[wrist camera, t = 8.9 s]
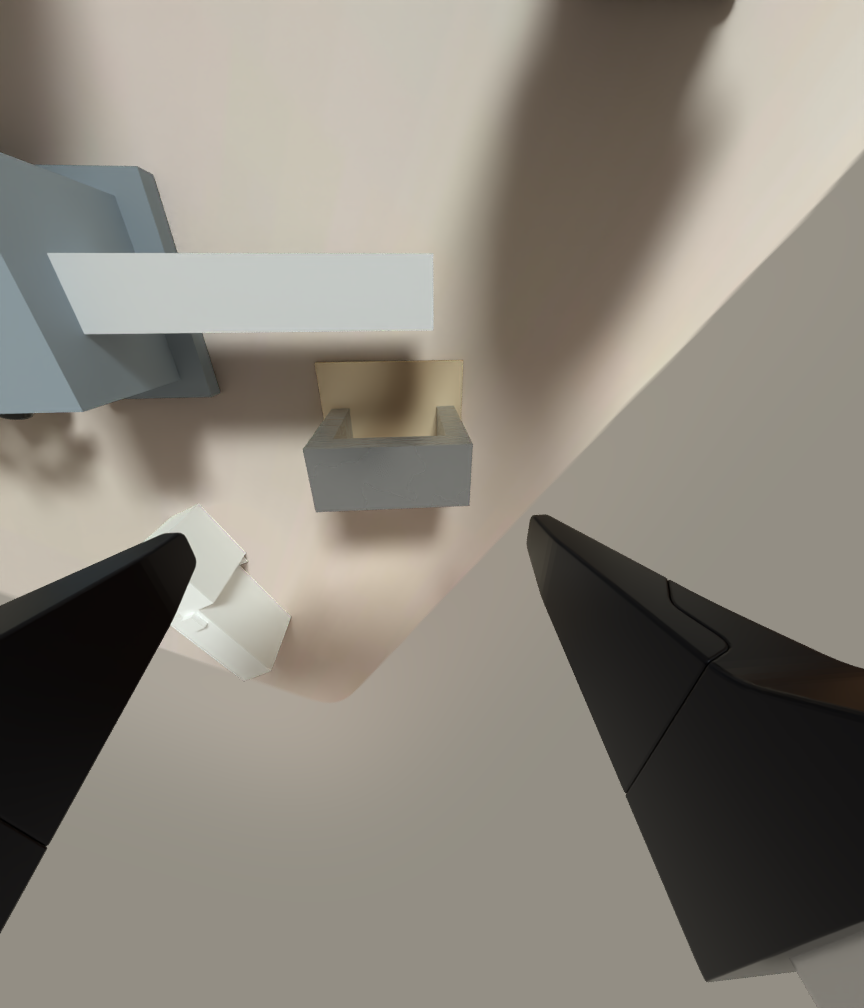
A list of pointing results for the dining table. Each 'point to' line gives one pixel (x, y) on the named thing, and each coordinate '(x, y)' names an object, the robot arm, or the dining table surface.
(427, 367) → the mat
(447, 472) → the square metal frame
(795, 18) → the dining table surface
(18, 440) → the dining table surface
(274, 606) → the white stepped block
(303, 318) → the bar
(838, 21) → the dining table surface
